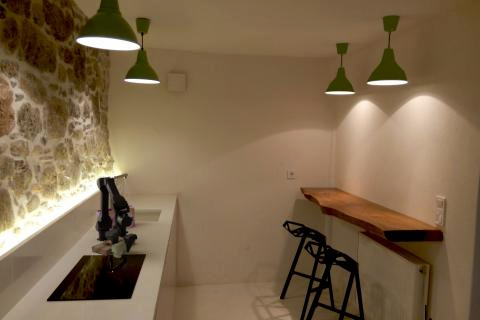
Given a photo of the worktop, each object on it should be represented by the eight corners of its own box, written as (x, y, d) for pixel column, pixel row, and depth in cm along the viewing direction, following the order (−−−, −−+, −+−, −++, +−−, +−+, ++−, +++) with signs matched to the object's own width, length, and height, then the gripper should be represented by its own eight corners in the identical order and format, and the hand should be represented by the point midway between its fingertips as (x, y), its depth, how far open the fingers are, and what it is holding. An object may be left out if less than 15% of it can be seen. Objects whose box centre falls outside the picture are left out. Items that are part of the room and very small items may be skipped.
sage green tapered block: (112, 257, 181) (111, 245, 180) (127, 251, 190) (126, 239, 189) (116, 258, 180) (116, 246, 179) (131, 252, 188) (131, 240, 187)
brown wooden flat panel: (92, 251, 189) (91, 246, 189) (120, 240, 206) (120, 235, 206) (106, 255, 183) (106, 250, 183) (135, 243, 201) (135, 238, 200)
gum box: (133, 223, 240) (132, 204, 238) (137, 226, 233) (136, 207, 232) (97, 230, 227) (96, 210, 225) (100, 233, 220) (98, 212, 219)
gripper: (95, 224, 180) (97, 253, 182) (120, 229, 171) (122, 259, 173) (113, 218, 190) (114, 246, 192) (137, 223, 181) (138, 252, 183)
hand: (121, 251), depth 184 cm, fingers open, 9 cm apart
